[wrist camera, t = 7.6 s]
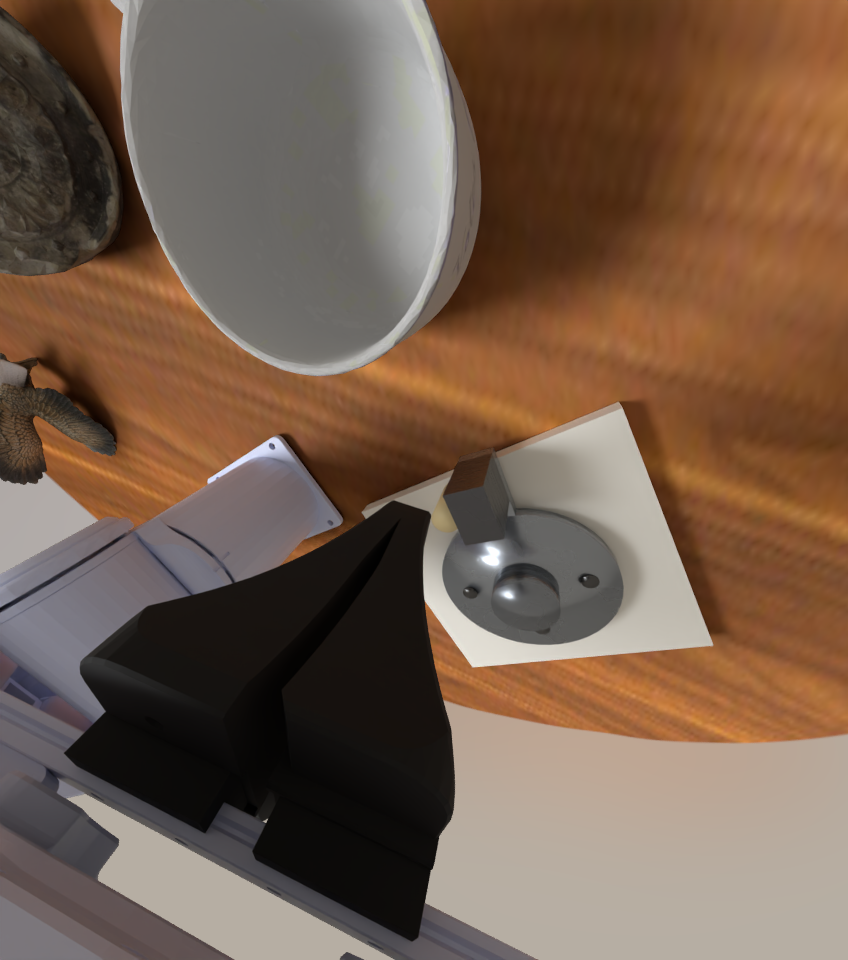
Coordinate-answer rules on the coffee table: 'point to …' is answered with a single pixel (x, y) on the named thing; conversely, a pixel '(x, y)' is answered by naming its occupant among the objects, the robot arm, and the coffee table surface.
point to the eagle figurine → (12, 435)
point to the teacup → (302, 168)
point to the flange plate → (524, 562)
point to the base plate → (599, 506)
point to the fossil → (50, 164)
